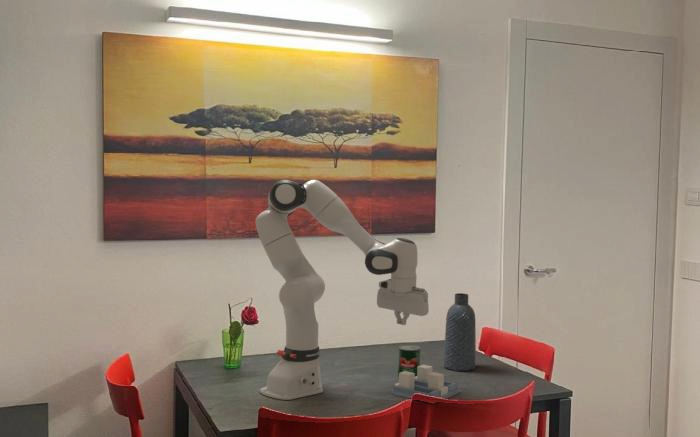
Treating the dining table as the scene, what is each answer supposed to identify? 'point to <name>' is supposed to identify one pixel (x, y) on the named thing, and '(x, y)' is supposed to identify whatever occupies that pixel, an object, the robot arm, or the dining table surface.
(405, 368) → the canned tomato
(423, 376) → the far tab
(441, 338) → the dining table surface
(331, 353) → the dining table surface
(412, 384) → the near tab
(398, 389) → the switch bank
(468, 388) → the dining table surface
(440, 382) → the middle tab
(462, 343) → the vase
